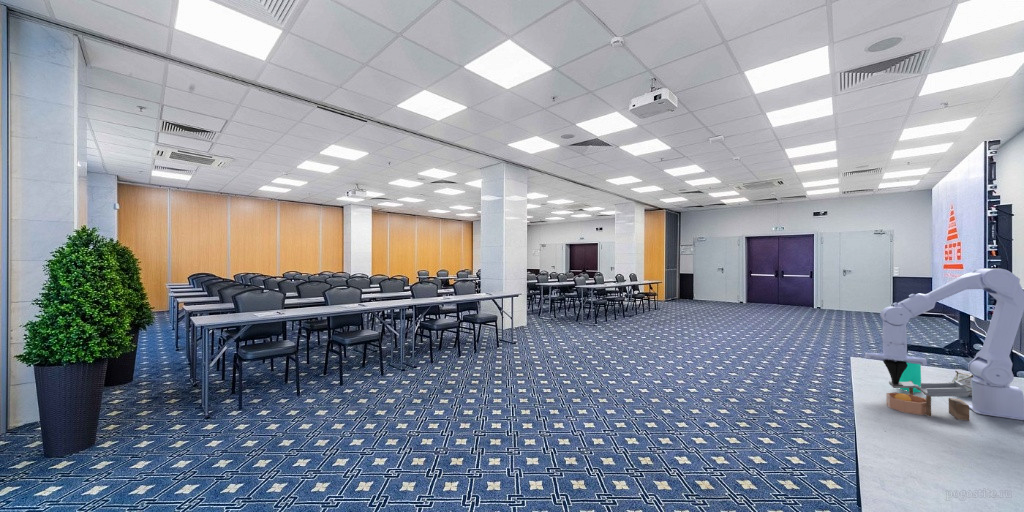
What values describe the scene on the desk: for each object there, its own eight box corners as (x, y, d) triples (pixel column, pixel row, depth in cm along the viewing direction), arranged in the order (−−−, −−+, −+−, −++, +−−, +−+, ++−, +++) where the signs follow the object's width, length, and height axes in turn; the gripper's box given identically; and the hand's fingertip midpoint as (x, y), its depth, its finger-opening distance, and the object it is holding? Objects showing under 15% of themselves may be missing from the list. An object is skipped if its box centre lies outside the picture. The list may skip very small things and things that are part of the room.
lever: (948, 382, 122) (945, 373, 122) (968, 396, 110) (965, 385, 110) (889, 384, 130) (886, 375, 130) (902, 396, 117) (899, 386, 118)
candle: (926, 392, 133) (925, 358, 133) (906, 391, 134) (905, 358, 134) (912, 387, 139) (911, 354, 139) (893, 386, 140) (892, 354, 140)
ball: (897, 406, 122) (912, 402, 120) (901, 410, 118) (917, 406, 117) (889, 393, 123) (904, 390, 121) (892, 397, 120) (908, 394, 118)
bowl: (923, 407, 120) (923, 396, 120) (934, 416, 113) (933, 405, 113) (884, 401, 125) (884, 390, 125) (892, 410, 118) (891, 399, 118)
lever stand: (947, 403, 123) (947, 385, 123) (972, 422, 108) (971, 401, 109) (909, 398, 128) (908, 380, 128) (927, 416, 113) (927, 396, 114)
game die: (972, 405, 131) (990, 382, 130) (984, 404, 124) (1002, 380, 124) (938, 387, 136) (955, 365, 136) (947, 385, 129) (965, 362, 129)
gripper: (868, 342, 128) (868, 382, 128) (930, 347, 120) (930, 390, 120) (863, 338, 134) (864, 377, 133) (922, 343, 126) (923, 384, 125)
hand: (895, 383), depth 127 cm, fingers closed, pressing on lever
